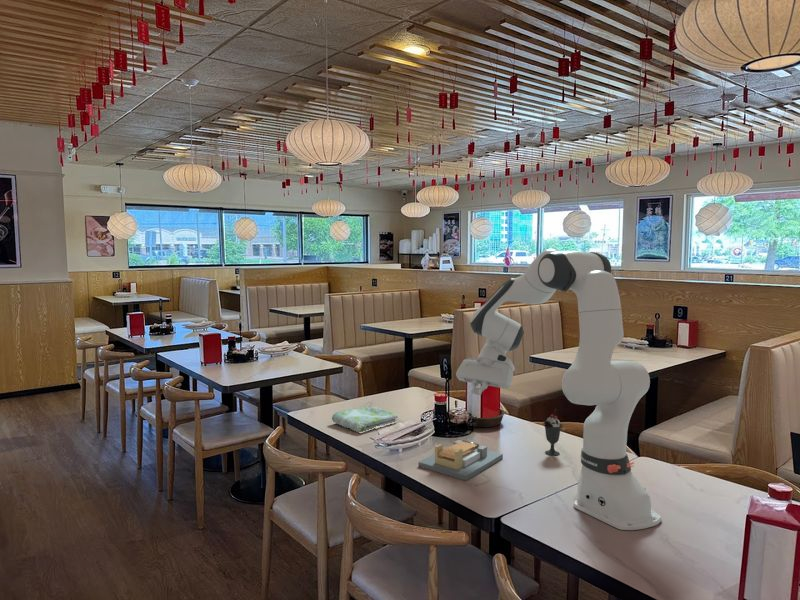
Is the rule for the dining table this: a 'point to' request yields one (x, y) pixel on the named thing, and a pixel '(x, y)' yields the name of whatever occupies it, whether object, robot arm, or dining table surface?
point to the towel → (364, 418)
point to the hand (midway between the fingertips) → (475, 393)
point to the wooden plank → (462, 445)
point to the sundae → (552, 433)
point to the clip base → (461, 462)
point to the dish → (488, 420)
